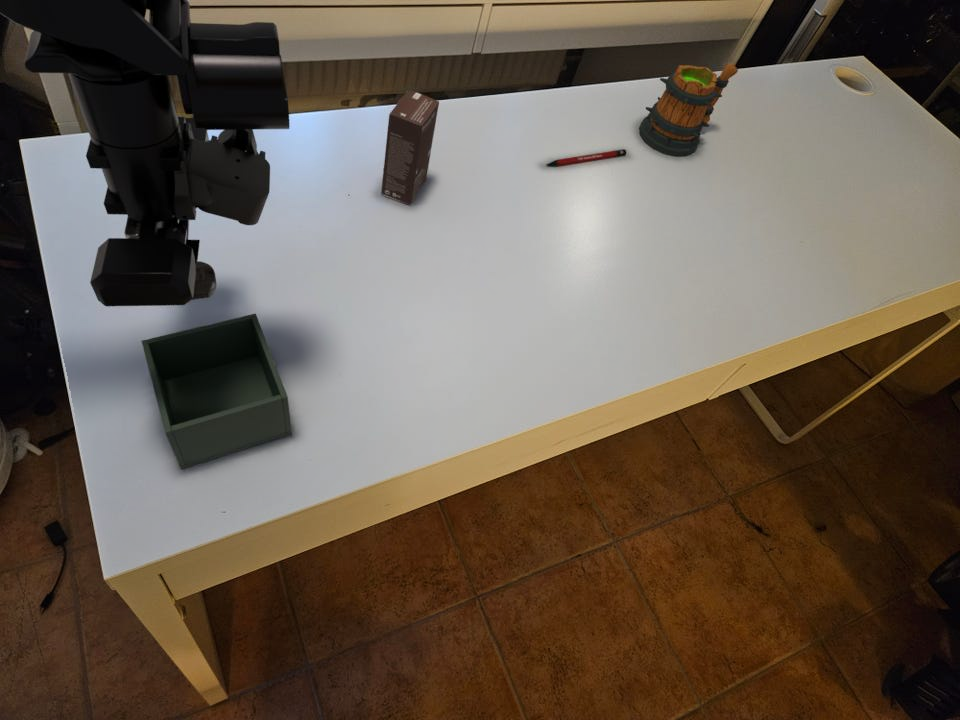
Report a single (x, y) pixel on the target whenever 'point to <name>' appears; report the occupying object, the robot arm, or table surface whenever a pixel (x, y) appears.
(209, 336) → the bin
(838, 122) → the table surface
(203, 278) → the block
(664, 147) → the mug
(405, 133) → the box
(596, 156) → the pencil
